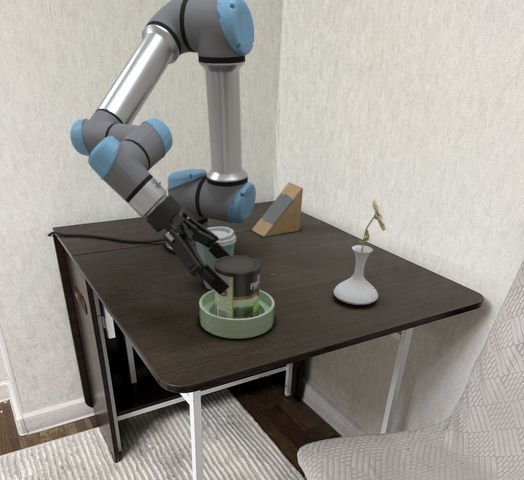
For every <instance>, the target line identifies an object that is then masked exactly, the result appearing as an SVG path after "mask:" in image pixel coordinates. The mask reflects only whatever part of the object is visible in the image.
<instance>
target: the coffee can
mask: <svg viewBox="0 0 524 480" xmlns="http://www.w3.org/2000/svg"><path fill="white" fill-rule="evenodd" d="M261 265H262V264H261V261H260V260H258V259H257V258H254V257H252V256H248V255H240V254H239V255H235V254H233V255H232V256H225V257H221V258H219V259H217V260H216V261H215V262H214V271H215V272H216V273H217V274H218V275H219V276H220V277H221V278H222V279H223V280H224V281H225V282H226V283H227V284H228V285H229V288H228V289H226V290H225V291H224V292H223V293H222V294H221V295H219V294H218V293H217V292H216V291H215V309H216V316H220V317H224V318H231V319H243V318H251V317H255V316H258V314H259V290H260V279H261V278H260V277H261Z"/></svg>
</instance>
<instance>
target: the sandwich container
mask: <svg viewBox="0 0 524 480" xmlns="http://www.w3.org/2000/svg"><path fill="white" fill-rule="evenodd" d="M303 193H304V188H303V187H302V186H299V185H297V184H295V183H292V182H289V181H288V183H287V184H286V185H285V187H284V188H283V189H282V191H281V192H280V193H279V195H278V196H277V197H276V199H275V200H274V201H273V202H272V204H270V206H269V207H268V208H267V209H266V211H265V212H264V214H263V215H262V216H261V217H260V219H259V220H258V221H257V223H256V224H255V225H254V226H253V228H252V229H251V231H252V232H254V233H256V234H257V235H259V236H262V237H264V238H265V237H271V236H277V235H282V234H288V233H293V232H299V231H300V228H301V216H302V204H303Z"/></svg>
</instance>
